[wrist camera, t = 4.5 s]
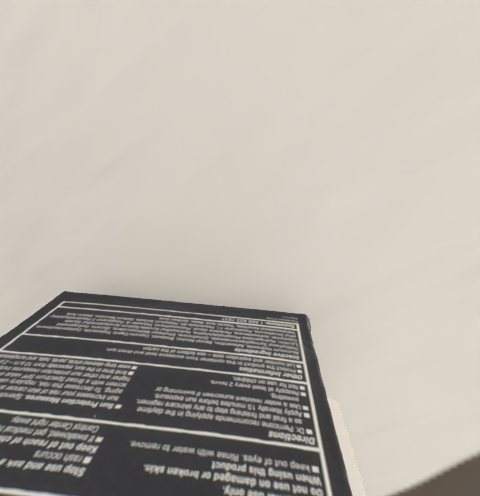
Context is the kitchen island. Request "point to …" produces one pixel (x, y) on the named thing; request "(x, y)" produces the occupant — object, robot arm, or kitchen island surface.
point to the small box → (164, 402)
